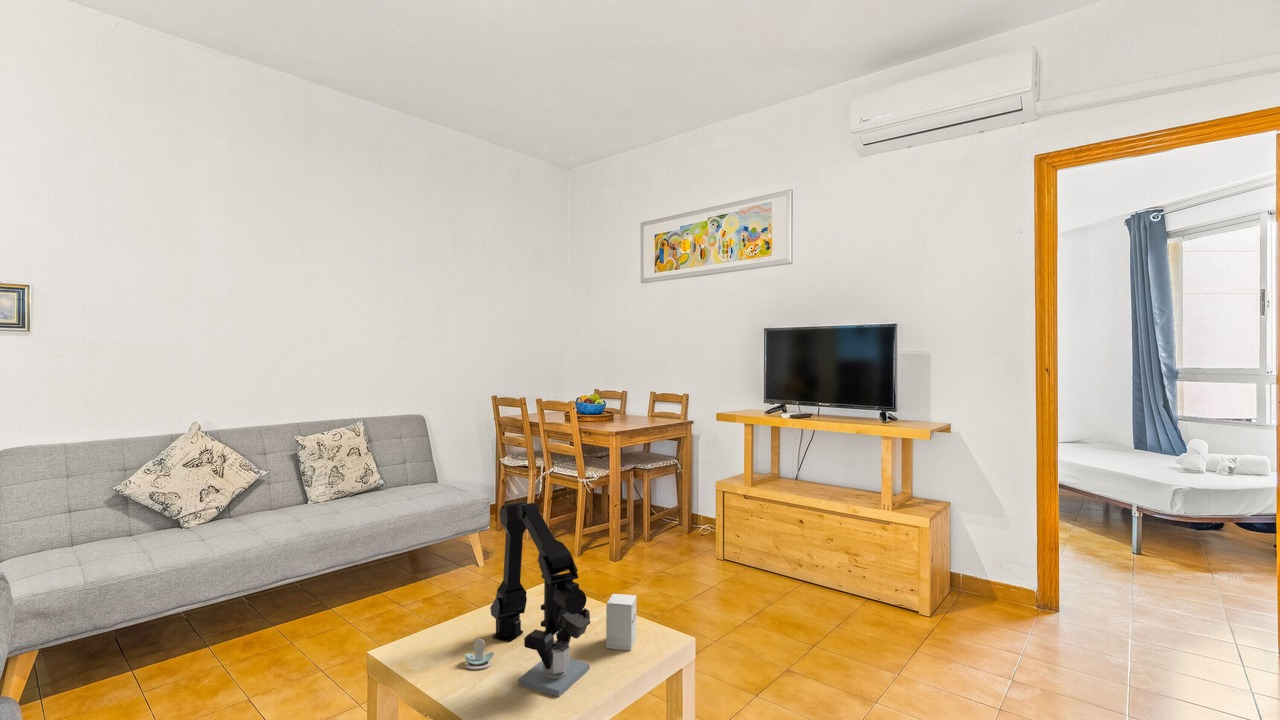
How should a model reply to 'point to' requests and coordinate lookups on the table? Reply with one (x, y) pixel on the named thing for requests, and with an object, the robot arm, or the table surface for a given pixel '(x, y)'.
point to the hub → (559, 658)
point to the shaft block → (553, 678)
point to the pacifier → (478, 656)
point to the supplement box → (621, 622)
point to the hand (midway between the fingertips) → (555, 662)
